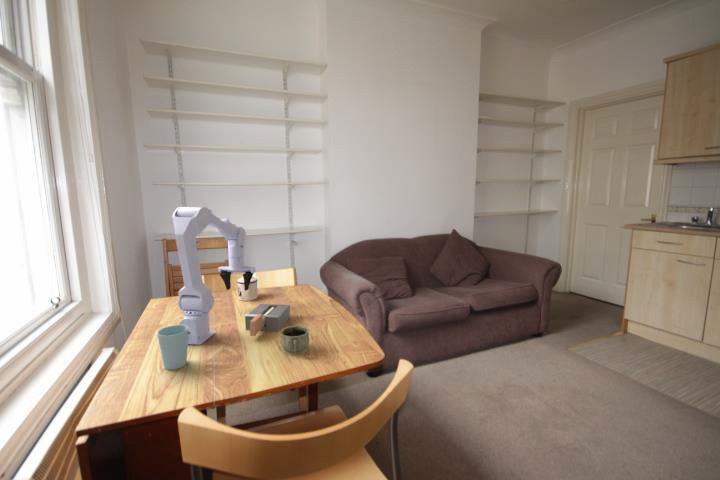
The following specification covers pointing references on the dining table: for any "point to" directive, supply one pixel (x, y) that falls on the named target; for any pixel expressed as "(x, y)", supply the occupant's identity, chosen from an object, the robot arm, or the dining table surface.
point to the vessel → (294, 340)
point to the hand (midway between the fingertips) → (237, 289)
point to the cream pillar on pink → (258, 322)
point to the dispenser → (270, 316)
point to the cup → (173, 346)
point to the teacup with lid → (247, 294)
